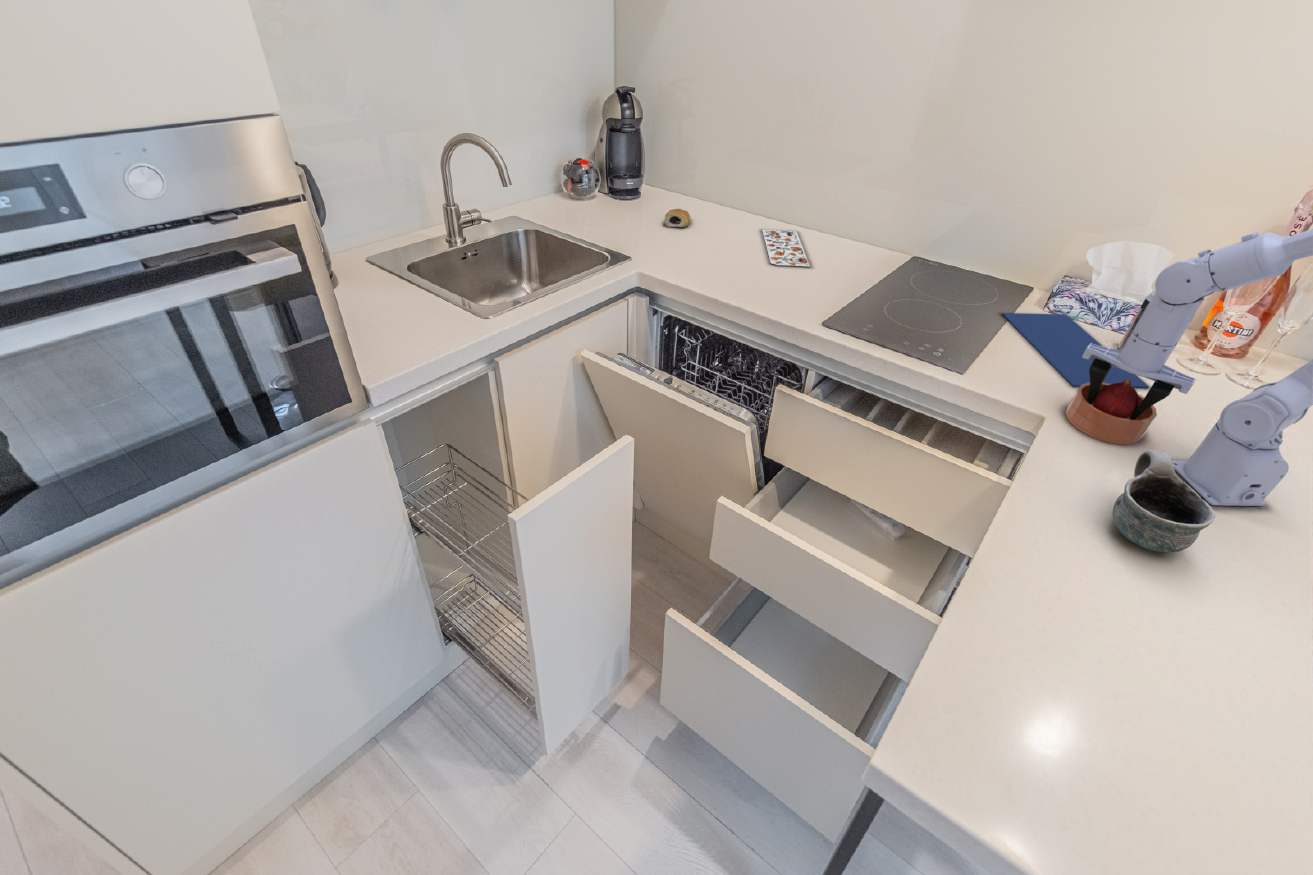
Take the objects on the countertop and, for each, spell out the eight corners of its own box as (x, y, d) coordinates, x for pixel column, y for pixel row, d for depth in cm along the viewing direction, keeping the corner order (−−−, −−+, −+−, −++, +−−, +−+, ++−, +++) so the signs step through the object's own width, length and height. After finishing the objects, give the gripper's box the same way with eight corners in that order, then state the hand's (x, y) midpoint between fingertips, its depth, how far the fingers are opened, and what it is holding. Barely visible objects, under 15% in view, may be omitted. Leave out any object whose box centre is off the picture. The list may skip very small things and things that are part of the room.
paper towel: (810, 266, 150) (771, 264, 150) (809, 266, 150) (771, 264, 150) (796, 230, 169) (762, 229, 169) (796, 231, 169) (762, 229, 169)
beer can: (1117, 354, 122) (1149, 297, 115) (1116, 343, 125) (1147, 288, 118) (1145, 360, 120) (1180, 303, 113) (1143, 350, 124) (1177, 294, 116)
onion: (1130, 433, 100) (1156, 392, 95) (1092, 428, 101) (1116, 387, 96) (1117, 413, 105) (1141, 372, 100) (1080, 408, 106) (1102, 367, 101)
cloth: (1148, 388, 112) (1149, 386, 112) (1072, 386, 112) (1073, 384, 112) (1065, 316, 134) (1066, 314, 134) (1002, 314, 134) (1002, 313, 134)
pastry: (670, 215, 176) (671, 201, 174) (693, 218, 175) (695, 204, 173) (662, 226, 169) (663, 212, 167) (686, 229, 168) (687, 215, 165)
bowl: (1158, 445, 99) (1173, 422, 96) (1088, 443, 99) (1102, 421, 96) (1116, 404, 108) (1129, 382, 105) (1052, 403, 107) (1063, 381, 105)
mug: (1125, 563, 79) (1168, 506, 73) (1075, 495, 89) (1109, 440, 83) (1200, 566, 79) (1250, 510, 73) (1142, 498, 89) (1181, 443, 83)
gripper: (1217, 346, 92) (1167, 419, 100) (1108, 312, 99) (1070, 383, 108) (1208, 363, 88) (1157, 438, 96) (1096, 326, 95) (1057, 399, 104)
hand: (1110, 410), depth 102 cm, fingers closed on onion, 6 cm apart
